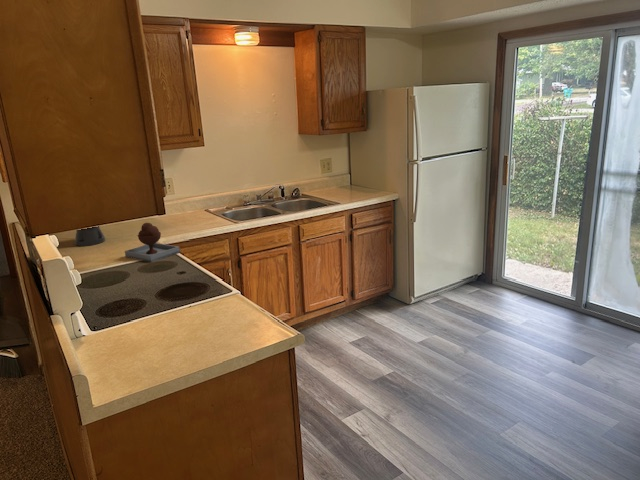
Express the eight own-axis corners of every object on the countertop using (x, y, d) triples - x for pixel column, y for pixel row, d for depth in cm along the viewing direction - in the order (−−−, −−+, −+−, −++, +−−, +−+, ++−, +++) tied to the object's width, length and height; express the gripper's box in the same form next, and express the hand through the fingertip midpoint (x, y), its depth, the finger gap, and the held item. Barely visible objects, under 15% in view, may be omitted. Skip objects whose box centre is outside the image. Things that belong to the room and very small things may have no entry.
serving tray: (125, 256, 235) (124, 251, 235) (154, 247, 249) (153, 242, 248) (151, 262, 224) (150, 256, 224) (180, 252, 238) (179, 246, 237)
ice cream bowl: (135, 255, 233) (131, 225, 229) (148, 249, 243) (143, 220, 239) (155, 256, 230) (151, 225, 226) (167, 249, 241) (163, 220, 237)
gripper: (114, 161, 229) (121, 204, 235) (147, 162, 216) (154, 208, 221) (128, 159, 235) (134, 201, 241) (161, 160, 222) (167, 205, 227)
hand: (144, 205), depth 231 cm, fingers open, 13 cm apart
